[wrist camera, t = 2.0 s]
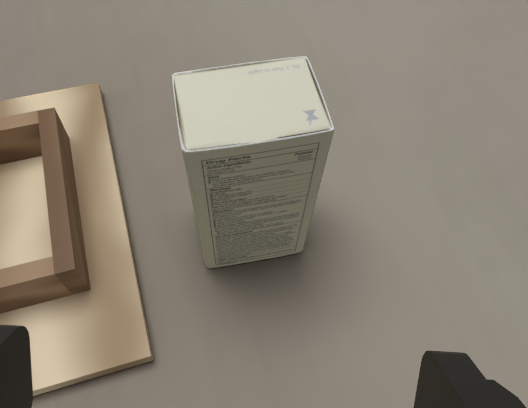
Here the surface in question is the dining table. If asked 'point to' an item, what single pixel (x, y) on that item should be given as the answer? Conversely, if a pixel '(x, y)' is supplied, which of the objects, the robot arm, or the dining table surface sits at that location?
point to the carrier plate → (67, 240)
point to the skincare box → (252, 155)
